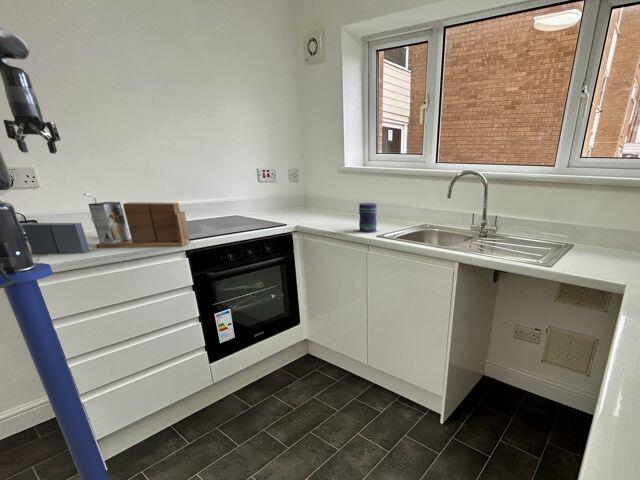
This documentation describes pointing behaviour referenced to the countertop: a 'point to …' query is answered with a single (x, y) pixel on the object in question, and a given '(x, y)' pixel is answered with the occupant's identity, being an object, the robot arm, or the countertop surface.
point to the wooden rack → (182, 236)
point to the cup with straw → (89, 211)
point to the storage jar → (367, 217)
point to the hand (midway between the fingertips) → (39, 152)
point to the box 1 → (140, 221)
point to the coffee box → (109, 222)
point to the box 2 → (165, 221)
